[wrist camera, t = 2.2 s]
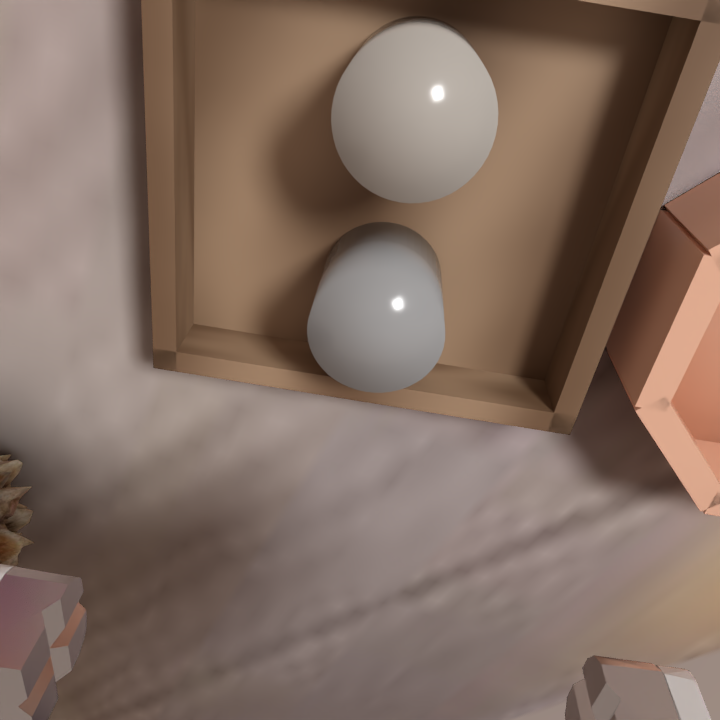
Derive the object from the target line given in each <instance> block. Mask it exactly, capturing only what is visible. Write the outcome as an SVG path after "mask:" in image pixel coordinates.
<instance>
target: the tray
mask: <svg viewBox="0 0 720 720" xmlns="http://www.w3.org/2000/svg"><path fill="white" fill-rule="evenodd" d="M141 13H142V43H143V72H144V101H145V131H146V160H147V190H148V219H149V249H150V278H151V308H152V337H153V367H154V368H158V369H164V370H170V371H177V372H183V373H189V374H195V375H201V376H208V377H214V378H220V379H226V380H232V381H239V382H245V383H251V384H257V385H264V386H270V387H276V388H282V389H288V390H295V391H301V392H307V393H313V394H319V395H326V396H332V397H338V398H344V399H350V400H357V401H363V402H369V403H375V404H381V405H388V406H394V407H400V408H406V409H412V410H419V411H425V412H431V413H437V414H443V415H450V416H456V417H462V418H468V419H474V420H481V421H487V422H493V423H499V424H506V425H512V426H518V427H524V428H530V429H537V430H543V431H549V432H555V433H561V434H568V435H570V433H571V431H572V428H573V426H574V423H575V421H576V418H577V416H578V413H579V411H580V408H581V406H582V403H583V401H584V398H585V396H586V393H587V391H588V388H589V386H590V383H591V381H592V378H593V376H594V373H595V371H596V368H597V366H598V363H599V361H600V358H601V356H602V353H603V351H604V348H605V346H606V343H607V341H608V338H609V336H610V333H611V331H612V328H613V326H614V323H615V321H616V318H617V316H618V313H619V311H620V308H621V306H622V303H623V301H624V298H625V296H626V293H627V291H628V288H629V286H630V283H631V281H632V278H633V276H634V273H635V271H636V268H637V266H638V263H639V261H640V258H641V256H642V253H643V251H644V248H645V246H646V243H647V241H648V238H649V236H650V233H651V231H652V228H653V226H654V223H655V221H656V218H657V216H658V213H659V211H660V208H661V206H662V203H663V201H664V198H665V196H666V193H667V191H668V188H669V186H670V183H671V181H672V178H673V176H674V173H675V171H676V168H677V166H678V163H679V161H680V158H681V156H682V153H683V151H684V148H685V146H686V143H687V141H688V138H689V136H690V133H691V131H692V128H693V126H694V123H695V121H696V118H697V116H698V113H699V111H700V108H701V106H702V103H703V101H704V98H705V96H706V93H707V91H708V88H709V86H710V83H711V81H712V78H713V76H714V73H715V71H716V68H717V66H718V63H719V61H720V0H141ZM408 16H427V17H432V18H436V19H439V20H441V21H444V22H446V23H448V24H450V25H451V26H453V27H455V28H456V29H457V30H458V31H459V32H461V33H462V34H463V35H464V36H465V37H466V38H467V40H468V41H469V42H470V44H471V45H472V46H473V48H474V50H475V51H476V53H477V55H478V56H479V58H480V59H481V61H482V63H483V64H484V66H485V68H486V70H487V72H488V73H489V75H490V77H491V80H492V82H493V85H494V88H495V92H496V96H497V101H498V126H497V131H496V136H495V140H494V143H493V146H492V148H491V151H490V153H489V155H488V157H487V159H486V160H485V162H484V164H483V165H482V167H481V168H480V169H479V171H478V172H477V173H476V174H475V175H474V176H473V177H472V178H471V179H470V180H469V181H468V182H467V183H466V184H465V185H463V186H462V187H461V188H459V189H458V190H456V191H455V192H453V193H451V194H449V195H447V196H445V197H442V198H440V199H437V200H433V201H430V202H423V203H401V202H396V201H391V200H388V199H385V198H383V197H380V196H378V195H376V194H374V193H372V192H371V191H369V190H368V189H366V188H365V187H363V186H362V185H361V184H360V183H359V182H358V181H357V180H356V179H355V178H354V177H353V176H352V175H351V174H350V172H349V171H348V170H347V168H346V167H345V165H344V164H343V162H342V160H341V158H340V156H339V154H338V152H337V149H336V146H335V143H334V139H333V134H332V125H331V113H332V104H333V98H334V95H335V91H336V88H337V85H338V83H339V81H340V79H341V77H342V75H343V73H344V71H345V70H346V68H347V67H348V65H349V64H350V62H351V60H352V59H353V57H354V56H355V54H356V53H357V51H358V50H359V48H360V47H361V45H362V44H363V43H364V42H365V40H366V39H367V38H368V37H369V36H370V35H371V34H372V33H373V32H375V31H376V30H377V29H379V28H380V27H381V26H383V25H385V24H387V23H389V22H391V21H393V20H396V19H399V18H403V17H408ZM373 222H391V223H396V224H400V225H403V226H406V227H408V228H410V229H412V230H414V231H415V232H417V233H418V234H420V235H421V236H422V237H423V238H424V239H425V240H427V242H428V243H429V244H430V245H431V246H432V248H433V250H434V251H435V253H436V255H437V257H438V260H439V263H440V268H441V276H442V291H443V306H444V321H445V343H444V348H443V351H442V354H441V356H440V358H439V360H438V362H437V363H436V365H435V366H434V368H433V369H432V370H431V371H430V372H429V373H428V374H427V375H426V376H425V377H424V378H422V379H421V380H419V381H418V382H416V383H415V384H413V385H411V386H409V387H406V388H403V389H401V390H397V391H392V392H384V393H372V392H364V391H360V390H356V389H353V388H350V387H348V386H345V385H343V384H341V383H340V382H338V381H336V380H335V379H333V378H332V377H331V376H329V375H328V374H327V373H326V372H325V371H324V370H323V369H322V368H321V367H320V365H319V364H318V363H317V361H316V359H315V358H314V356H313V354H312V352H311V349H310V346H309V342H308V337H307V324H308V318H309V315H310V311H311V308H312V305H313V302H314V298H315V295H316V292H317V289H318V286H319V282H320V279H321V276H322V273H323V269H324V266H325V263H326V260H327V257H328V255H329V253H330V251H331V249H332V247H333V246H334V244H335V243H336V242H337V241H338V240H339V239H340V238H341V237H342V236H343V235H344V234H346V233H347V232H348V231H350V230H352V229H353V228H356V227H358V226H360V225H364V224H367V223H373Z"/></svg>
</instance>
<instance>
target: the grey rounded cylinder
mask: <svg viewBox="0 0 720 720" xmlns="http://www.w3.org/2000/svg"><path fill="white" fill-rule="evenodd" d="M307 337H308V342H309V346H310V349H311V352H312V354H313V356H314V358H315V359H316V361H317V363H318V364H319V365H320V367H321V368H322V369H323V370H324V371H325V372H326V373H327V374H328V375H329V376H331V377H332V378H333V379H335V380H336V381H338V382H340V383H341V384H343V385H345V386H348V387H350V388H353V389H356V390H360V391H364V392H372V393H384V392H392V391H397V390H401V389H403V388H406V387H409V386H411V385H413V384H415V383H416V382H418V381H419V380H421V379H422V378H424V377H425V376H426V375H427V374H428V373H429V372H430V371H431V370H432V369H433V368H434V366H435V365H436V363H437V362H438V360H439V358H440V356H441V354H442V351H443V348H444V343H445V321H444V306H443V291H442V276H441V268H440V263H439V260H438V257H437V255H436V253H435V251H434V250H433V248H432V246H431V245H430V244H429V243H428V242H427V240H425V239H424V238H423V237H422V236H421V235H420V234H418V233H417V232H415V231H414V230H412V229H410V228H408V227H406V226H403V225H400V224H396V223H391V222H373V223H367V224H364V225H360V226H358V227H356V228H353V229H352V230H350V231H348V232H347V233H346V234H344V235H343V236H342V237H341V238H340V239H339V240H338V241H337V242H336V243H335V244H334V246H333V247H332V249H331V251H330V253H329V255H328V257H327V260H326V263H325V266H324V269H323V273H322V276H321V279H320V282H319V286H318V289H317V292H316V295H315V298H314V302H313V305H312V308H311V311H310V315H309V318H308V324H307Z"/></svg>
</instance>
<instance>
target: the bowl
mask: <svg viewBox="0 0 720 720" xmlns="http://www.w3.org/2000/svg"><path fill="white" fill-rule="evenodd" d="M664 206H665V208H666V209H667V211H666V210H660V212H659V214H658V217H657V219H656V222H655V224H654V227H653V229H652V232H651V234H650V237H649V239H648V242H647V244H646V247H645V249H644V252H643V254H642V257H641V259H640V262H639V264H638V267H637V269H636V272H635V274H634V277H633V279H632V282H631V284H630V287H629V289H628V292H627V294H626V297H625V299H624V302H623V304H622V307H621V309H620V312H619V314H618V317H617V319H616V322H615V324H614V327H613V329H612V332H611V334H610V337H609V339H608V342H607V344H606V347H607V350H606V351H607V353H608V355H609V357H610V359H611V361H612V363H613V365H614V367H615V370H616V372H617V374H618V376H619V378H620V380H621V382H622V384H623V386H624V388H625V391H626V393H627V395H628V397H629V399H630V401H631V403H632V405H633V407H634V409H635V411H636V413H637V414H638V416H639V418H640V419H641V421H642V422H643V424H644V425H645V427H646V428H647V430H648V431H649V433H650V434H651V436H652V438H653V439H654V441H655V442H656V444H657V445H658V447H659V448H660V450H661V451H662V453H663V454H664V456H665V458H666V459H667V461H668V462H669V464H670V465H671V467H672V468H673V470H674V471H675V473H676V474H677V476H678V478H679V479H680V481H681V482H682V484H683V485H684V487H685V488H686V490H687V491H688V493H689V494H690V496H691V498H692V499H693V501H694V502H695V504H696V505H697V507H698V508H699V510H700V511H703V512H704V514H709V515H715V516H720V173H718V174H717V175H715V176H713V177H712V178H710V179H708V180H706V181H705V182H703V183H701V184H700V185H698V186H696V187H694V188H693V189H691V190H689V191H688V192H686V193H684V194H682V195H681V196H679V197H677V198H676V199H674V200H672V201H670V202H669V203H667V204H665V205H664Z"/></svg>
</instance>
